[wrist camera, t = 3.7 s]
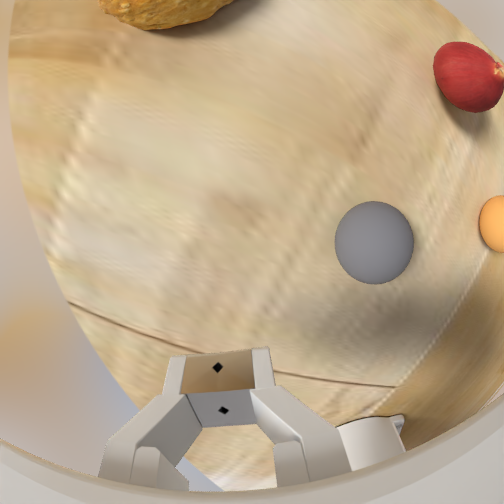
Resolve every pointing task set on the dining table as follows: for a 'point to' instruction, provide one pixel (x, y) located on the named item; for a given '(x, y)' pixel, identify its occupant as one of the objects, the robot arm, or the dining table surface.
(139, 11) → the bagel
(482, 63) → the onion
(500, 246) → the orange ball
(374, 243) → the grey rubber ball
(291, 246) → the dining table surface
